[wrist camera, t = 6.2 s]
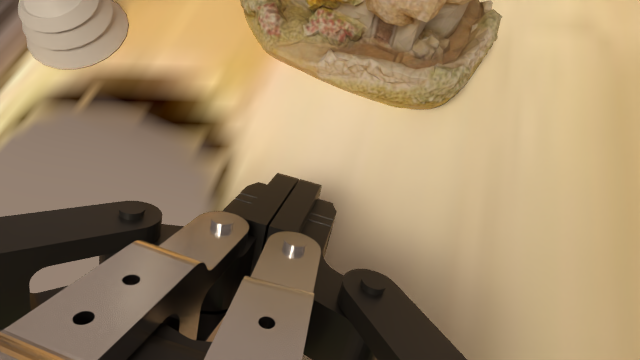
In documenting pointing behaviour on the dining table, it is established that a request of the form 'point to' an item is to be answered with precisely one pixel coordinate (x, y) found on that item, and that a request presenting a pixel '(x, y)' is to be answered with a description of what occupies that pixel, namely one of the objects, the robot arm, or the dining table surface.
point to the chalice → (72, 30)
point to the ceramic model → (379, 44)
